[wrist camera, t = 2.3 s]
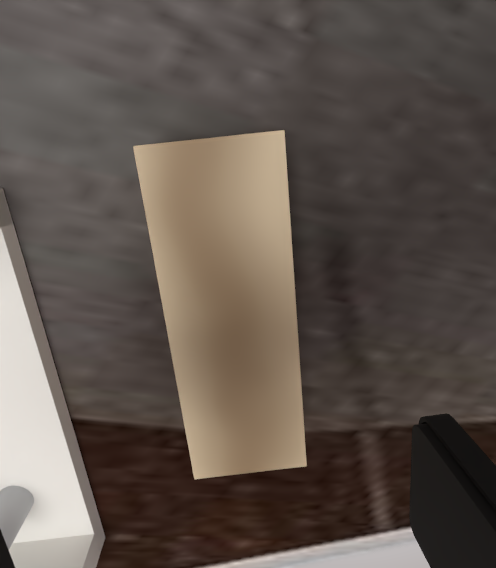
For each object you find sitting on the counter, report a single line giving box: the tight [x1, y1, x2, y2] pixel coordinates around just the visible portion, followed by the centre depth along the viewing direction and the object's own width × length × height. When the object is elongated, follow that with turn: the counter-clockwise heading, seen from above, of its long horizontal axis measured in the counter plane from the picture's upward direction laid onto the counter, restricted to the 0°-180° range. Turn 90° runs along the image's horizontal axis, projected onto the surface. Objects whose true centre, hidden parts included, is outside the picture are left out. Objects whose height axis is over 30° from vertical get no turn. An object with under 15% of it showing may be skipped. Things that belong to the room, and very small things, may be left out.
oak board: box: [133, 130, 307, 479], centre depth 18 cm, size 5×14×4 cm, turn 6°
